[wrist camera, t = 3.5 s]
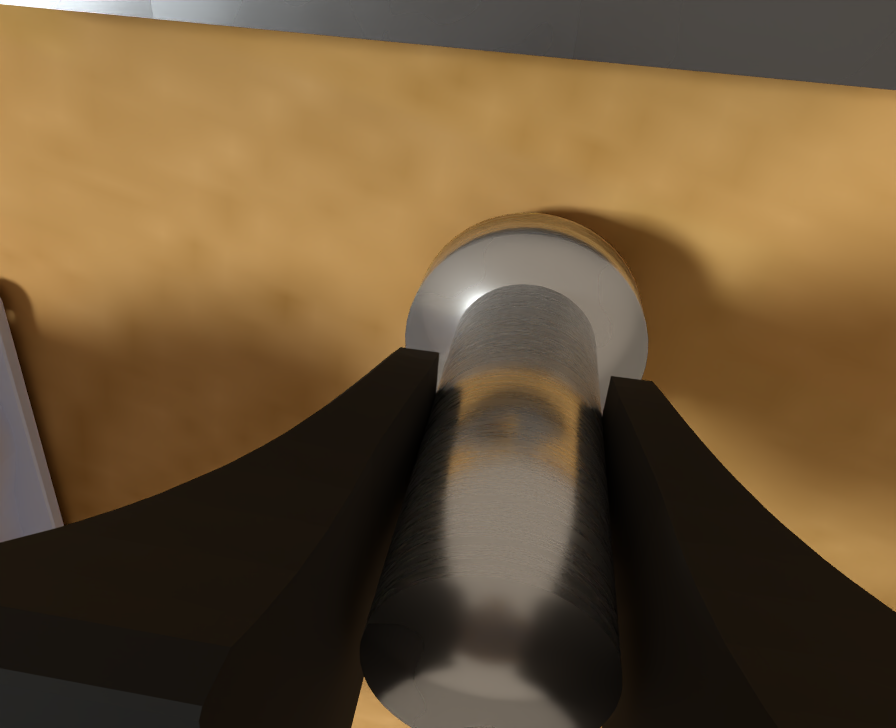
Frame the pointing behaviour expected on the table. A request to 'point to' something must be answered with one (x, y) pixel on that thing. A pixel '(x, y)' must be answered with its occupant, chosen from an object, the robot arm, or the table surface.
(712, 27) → the keyhole plate
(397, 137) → the table surface
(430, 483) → the steel peg
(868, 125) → the table surface
